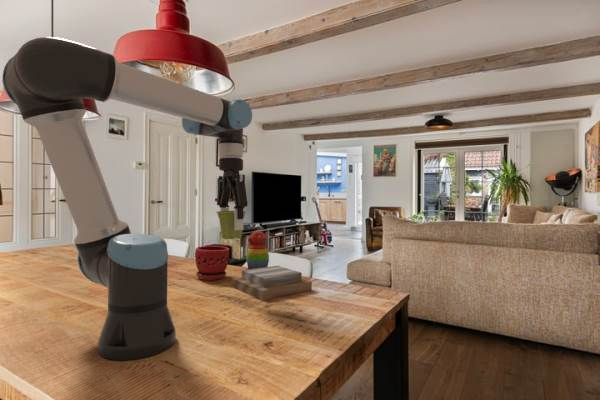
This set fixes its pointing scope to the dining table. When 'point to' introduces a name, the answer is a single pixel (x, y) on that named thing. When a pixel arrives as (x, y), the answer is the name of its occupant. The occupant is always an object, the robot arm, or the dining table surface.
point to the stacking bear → (257, 251)
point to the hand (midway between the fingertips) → (231, 228)
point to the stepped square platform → (271, 282)
